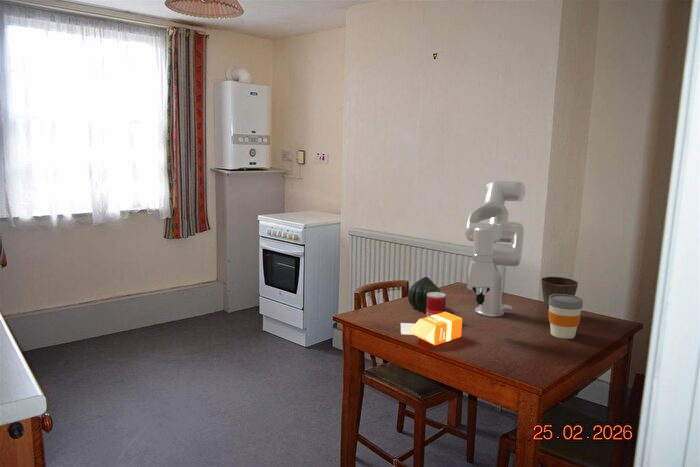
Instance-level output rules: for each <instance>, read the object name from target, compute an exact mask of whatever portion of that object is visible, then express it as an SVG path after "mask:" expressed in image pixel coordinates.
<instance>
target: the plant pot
mask: <svg viewBox="0 0 700 467" xmlns="http://www.w3.org/2000/svg"><path fill="white" fill-rule="evenodd" d="M578 285H579V281H577V280H575V279H571V278H566V277H560V276H544V277H542V278H541V294H542V298H543V303H544V308H545V311H546V314H547V316H548V317H549V314H548V310H549V304H548V301H549V296H550V295H552V294H567V295H573V296H576V293H577V290H578Z"/></svg>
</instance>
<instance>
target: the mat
mask: <svg viewBox="0 0 700 467" xmlns="http://www.w3.org/2000/svg"><path fill="white" fill-rule="evenodd" d="M415 324H416V323H411V322H408V323H407V322H400V335H401V336H415V335H414V334H412V333H410V332H409V331H410V329H411V328H412V327H413V326H414V325H415Z"/></svg>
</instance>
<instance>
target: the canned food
mask: <svg viewBox="0 0 700 467" xmlns="http://www.w3.org/2000/svg"><path fill="white" fill-rule="evenodd" d="M440 292H441V291H440ZM440 292H429V293H427V307H426V311H425V312H426V313H425V317H429V316H432V315H436V314H439V313H443V312H446V302H447V301H446V300H447V295H446V294H445V293H444V292H441V293H440Z"/></svg>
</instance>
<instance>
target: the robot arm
mask: <svg viewBox="0 0 700 467" xmlns="http://www.w3.org/2000/svg"><path fill="white" fill-rule="evenodd" d="M525 196H526V186H525V185H524V183H523V182H522V181H517V180H498V179H497V180H492V181H490V182H488V183H486V185H485V188H484V199H483V202H482V205H480V206H478V207H477V208H475V209H474V210H472V212H471V213H470V214H469V215H468V218H467V221H466V225H465V230H464V236H465V238H466V240H467V241H470V242H473V246H472V260H470V261H469V266H468V269H467V270H468V272H467V286H466V289H468V290H471V291H473V292H474V293H475V294H476V296H475V302H476V303H477V304H478V306H477V307H475V308H474V311H475V314H478V315H480V316H485V317H493V318H495V317H502V316H504V315H505V311H506V310H507V311H513V306H512V305H508V304H503V303H502V296H503V282H504V279H503V278H504V275H503V271H502V270H501V268H500V267H499V266H503V267H515V268H516V267H518V266H519V265H520V264H521V261H522V255H523V246H524V236H525V235H524V234H525V231H524V229H525V228H524V226H523V224H522V223H520V222H517V221H516V222H515V221H509V210H508V209H507V207H506V206H505V204H506V203H505V202H522V201H523V200H524V199H525ZM486 220H487V223H485V222H484V223H483V222H482V221H486Z"/></svg>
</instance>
